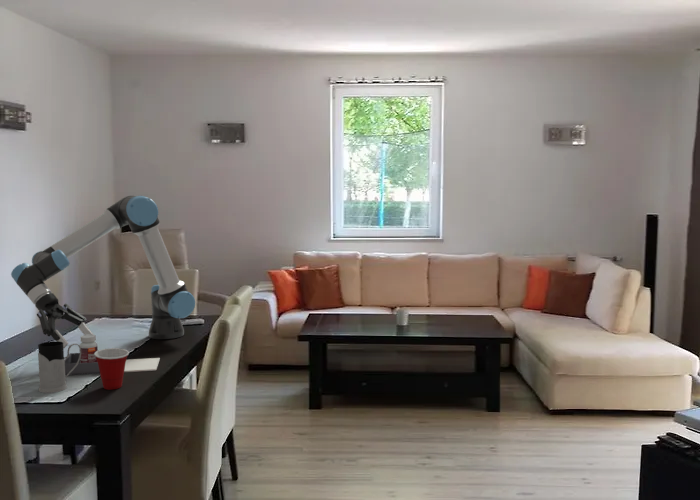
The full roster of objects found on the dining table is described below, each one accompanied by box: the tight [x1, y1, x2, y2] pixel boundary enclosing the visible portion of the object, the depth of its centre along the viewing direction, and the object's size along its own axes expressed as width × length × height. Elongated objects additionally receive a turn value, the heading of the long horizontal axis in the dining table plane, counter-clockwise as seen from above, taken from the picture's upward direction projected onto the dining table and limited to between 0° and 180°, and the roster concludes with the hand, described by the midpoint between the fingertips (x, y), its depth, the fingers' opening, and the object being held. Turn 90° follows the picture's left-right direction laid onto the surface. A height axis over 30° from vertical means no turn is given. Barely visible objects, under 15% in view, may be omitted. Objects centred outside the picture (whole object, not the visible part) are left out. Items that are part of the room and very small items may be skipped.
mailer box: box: [65, 352, 161, 376], centre depth 251 cm, size 32×16×4 cm, turn 101°
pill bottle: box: [79, 334, 99, 363], centre depth 249 cm, size 6×6×11 cm
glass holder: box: [37, 340, 81, 394], centre depth 226 cm, size 9×14×15 cm, turn 134°
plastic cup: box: [94, 347, 130, 391], centre depth 226 cm, size 11×11×12 cm
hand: (78, 341), depth 249 cm, fingers open, 13 cm apart
